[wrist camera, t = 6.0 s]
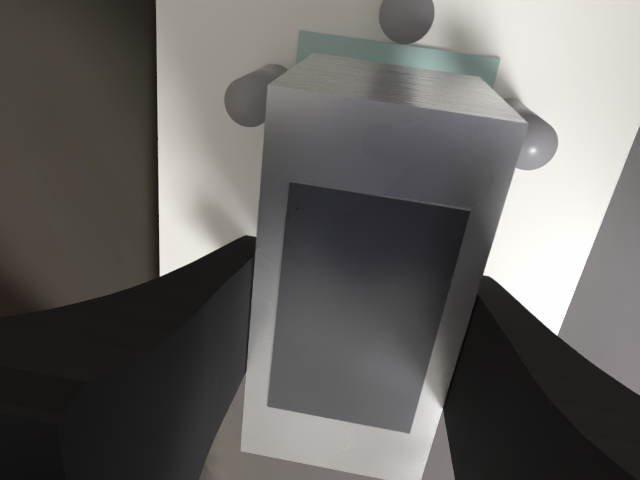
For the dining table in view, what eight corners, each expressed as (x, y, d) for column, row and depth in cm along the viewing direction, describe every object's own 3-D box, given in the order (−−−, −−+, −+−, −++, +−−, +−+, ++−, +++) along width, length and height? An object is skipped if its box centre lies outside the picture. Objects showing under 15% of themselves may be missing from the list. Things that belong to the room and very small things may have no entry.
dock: (673, -9, 14) (772, -14, 10) (521, 392, 20) (549, 478, 16) (169, -75, 15) (96, -101, 11) (171, 327, 21) (123, 395, 17)
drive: (478, 76, 12) (529, 124, 8) (411, 345, 16) (419, 488, 11) (313, 52, 12) (267, 85, 8) (283, 323, 16) (240, 453, 11)
